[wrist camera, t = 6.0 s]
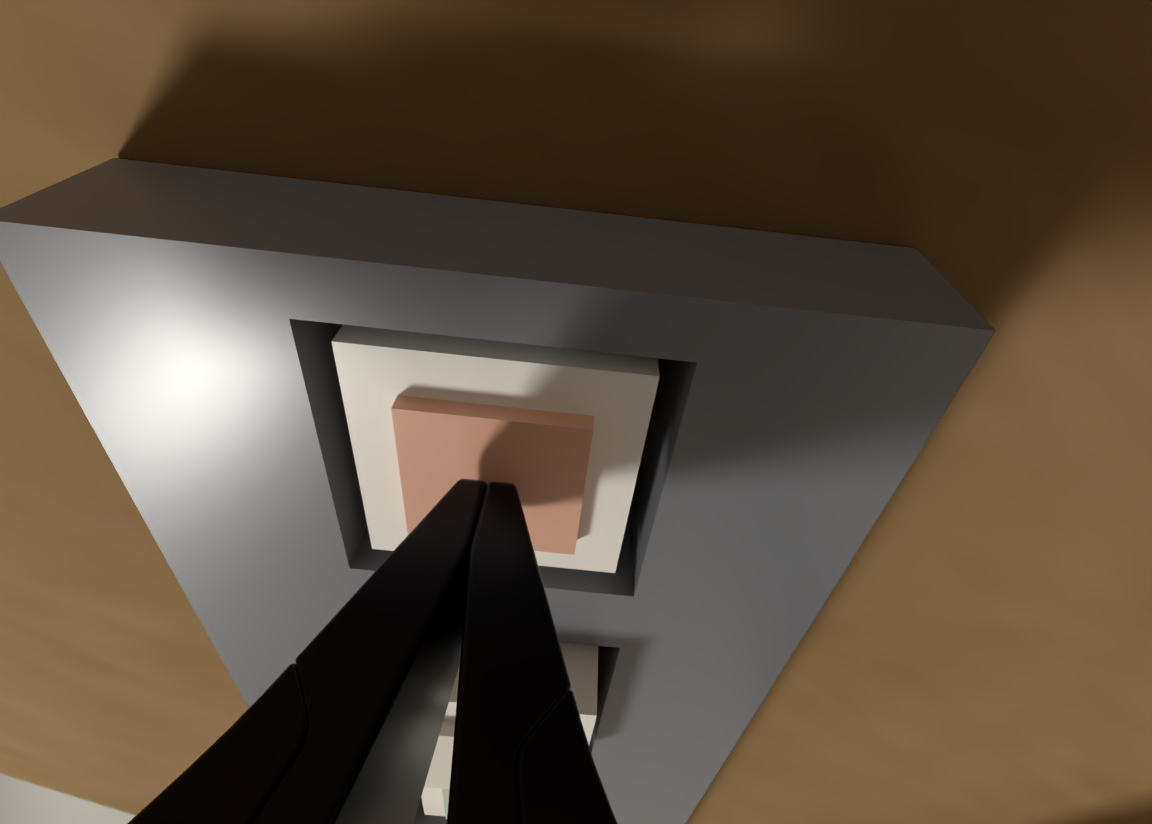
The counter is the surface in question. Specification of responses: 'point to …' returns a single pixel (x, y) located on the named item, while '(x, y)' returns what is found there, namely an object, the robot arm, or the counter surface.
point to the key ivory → (583, 684)
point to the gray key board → (508, 314)
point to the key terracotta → (497, 433)
